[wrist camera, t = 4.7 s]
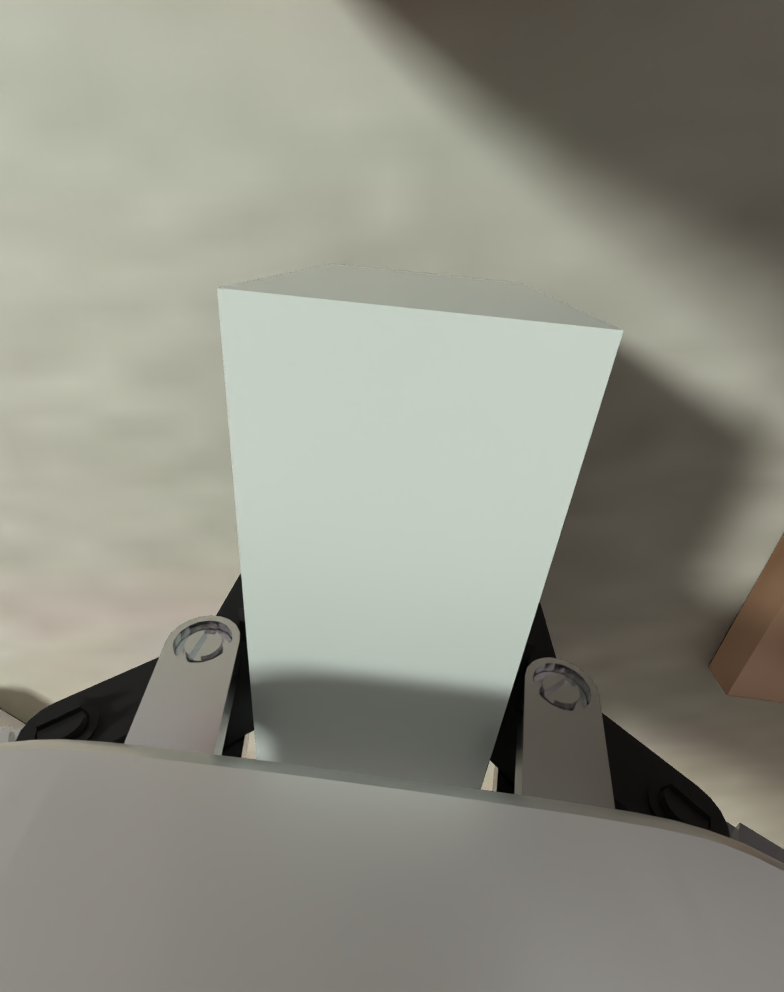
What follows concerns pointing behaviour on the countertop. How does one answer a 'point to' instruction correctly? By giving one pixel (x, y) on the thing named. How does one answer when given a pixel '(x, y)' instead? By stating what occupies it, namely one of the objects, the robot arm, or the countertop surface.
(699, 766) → the countertop surface
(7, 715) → the figurine
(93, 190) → the countertop surface
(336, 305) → the white bar
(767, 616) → the jig
